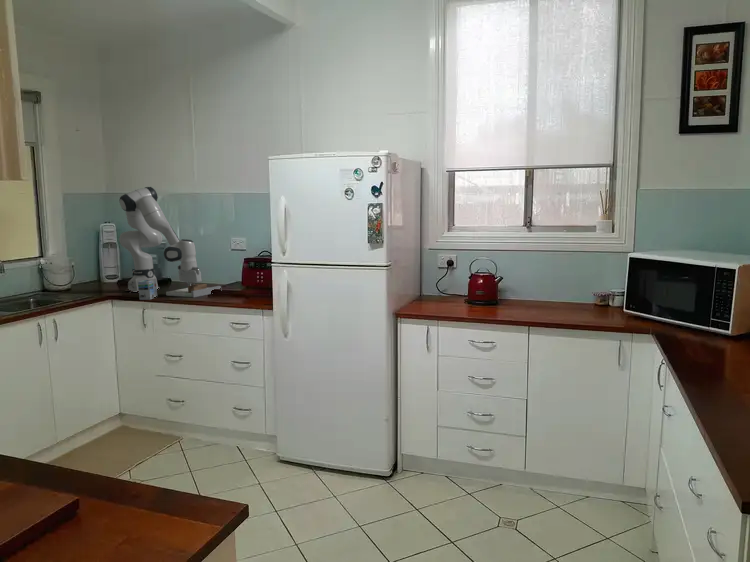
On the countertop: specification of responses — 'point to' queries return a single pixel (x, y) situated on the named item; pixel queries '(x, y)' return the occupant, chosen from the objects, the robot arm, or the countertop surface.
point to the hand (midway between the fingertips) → (191, 289)
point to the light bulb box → (147, 289)
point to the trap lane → (192, 292)
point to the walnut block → (196, 287)
